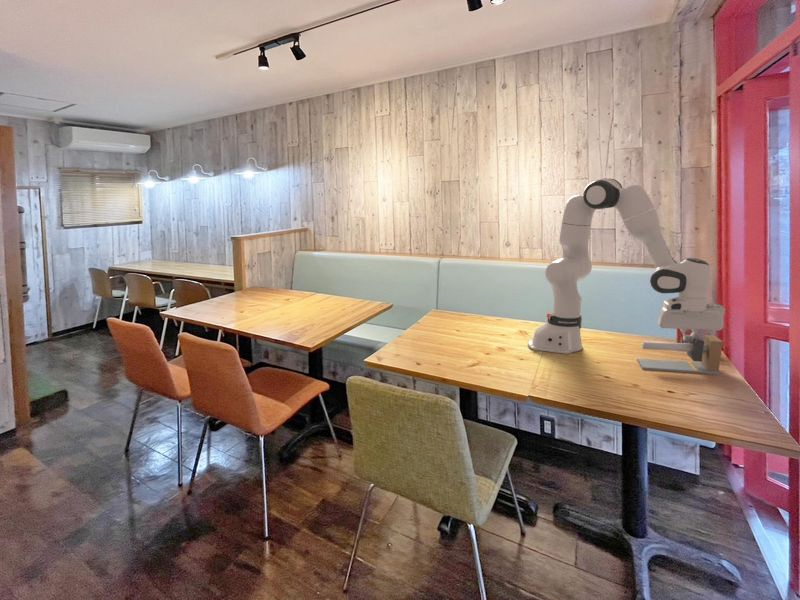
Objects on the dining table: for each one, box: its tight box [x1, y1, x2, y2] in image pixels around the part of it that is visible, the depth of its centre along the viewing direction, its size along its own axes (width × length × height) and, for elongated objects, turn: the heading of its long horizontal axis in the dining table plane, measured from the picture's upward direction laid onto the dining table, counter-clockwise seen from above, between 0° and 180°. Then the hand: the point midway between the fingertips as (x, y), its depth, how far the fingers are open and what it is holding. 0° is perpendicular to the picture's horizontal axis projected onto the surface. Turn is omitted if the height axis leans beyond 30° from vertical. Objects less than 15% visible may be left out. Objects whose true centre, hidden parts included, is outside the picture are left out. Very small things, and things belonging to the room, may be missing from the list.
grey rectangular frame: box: [686, 334, 704, 363], centre depth 163 cm, size 2×8×8 cm, turn 164°
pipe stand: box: [636, 334, 724, 376], centre depth 165 cm, size 25×9×12 cm, turn 73°
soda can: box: [674, 329, 693, 343], centre depth 185 cm, size 7×7×13 cm
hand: (687, 340), depth 163 cm, fingers closed
